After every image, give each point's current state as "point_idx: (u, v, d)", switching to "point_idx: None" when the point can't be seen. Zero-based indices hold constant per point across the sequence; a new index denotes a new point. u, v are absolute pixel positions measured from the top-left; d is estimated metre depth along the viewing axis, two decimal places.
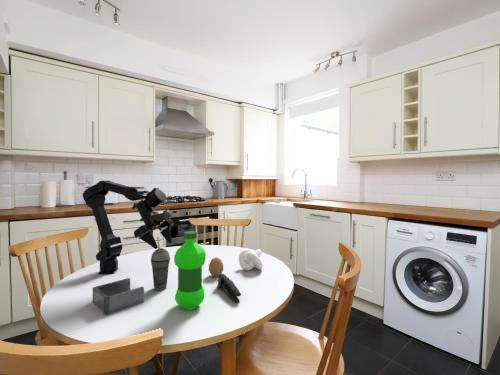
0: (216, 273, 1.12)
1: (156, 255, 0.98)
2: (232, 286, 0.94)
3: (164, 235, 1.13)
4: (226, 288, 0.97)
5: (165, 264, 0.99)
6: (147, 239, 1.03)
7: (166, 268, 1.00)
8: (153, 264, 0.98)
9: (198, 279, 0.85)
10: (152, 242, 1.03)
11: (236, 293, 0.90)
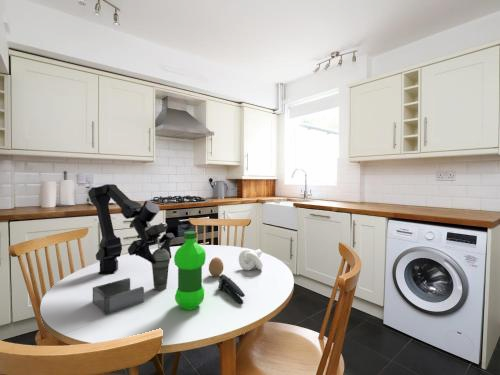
0: (216, 273, 1.12)
1: (156, 255, 0.98)
2: (235, 287, 0.93)
3: None
4: (228, 289, 0.96)
5: (165, 264, 0.99)
6: (144, 255, 0.98)
7: (166, 268, 1.00)
8: (153, 264, 0.98)
9: (198, 279, 0.85)
10: (149, 257, 0.97)
11: (240, 294, 0.90)
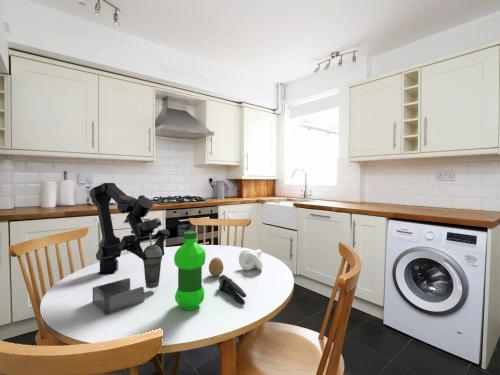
0: (216, 273, 1.12)
1: (147, 252, 0.95)
2: (236, 287, 0.93)
3: None
4: (229, 289, 0.96)
5: (156, 261, 0.96)
6: (135, 251, 0.95)
7: (158, 265, 0.97)
8: (144, 261, 0.95)
9: (198, 279, 0.85)
10: (140, 253, 0.94)
11: (242, 294, 0.90)
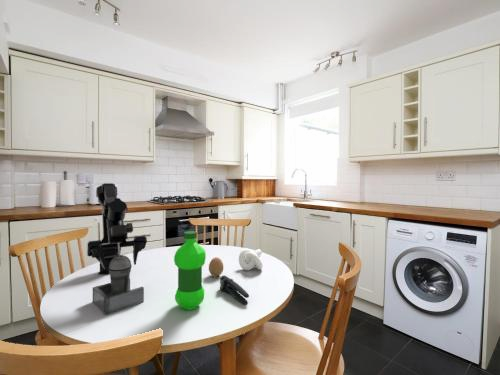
0: (216, 273, 1.12)
1: (111, 263, 0.88)
2: (239, 288, 0.93)
3: (133, 254, 0.95)
4: (231, 290, 0.96)
5: (120, 274, 0.87)
6: (99, 258, 0.89)
7: (123, 279, 0.88)
8: (109, 272, 0.88)
9: (198, 279, 0.85)
10: (101, 261, 0.87)
11: (244, 294, 0.89)
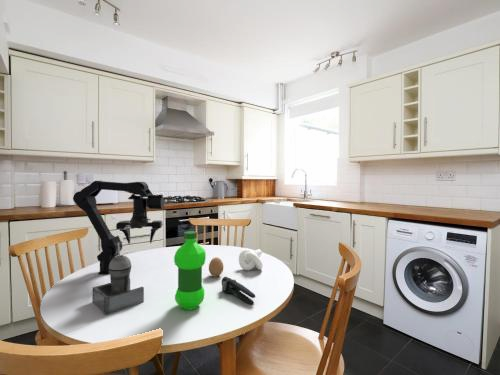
0: (216, 273, 1.12)
1: (111, 263, 0.88)
2: (244, 288, 0.92)
3: None
4: (235, 291, 0.95)
5: (120, 274, 0.87)
6: None
7: (123, 279, 0.88)
8: (109, 272, 0.88)
9: (198, 279, 0.85)
10: None
11: (251, 295, 0.89)
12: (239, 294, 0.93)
